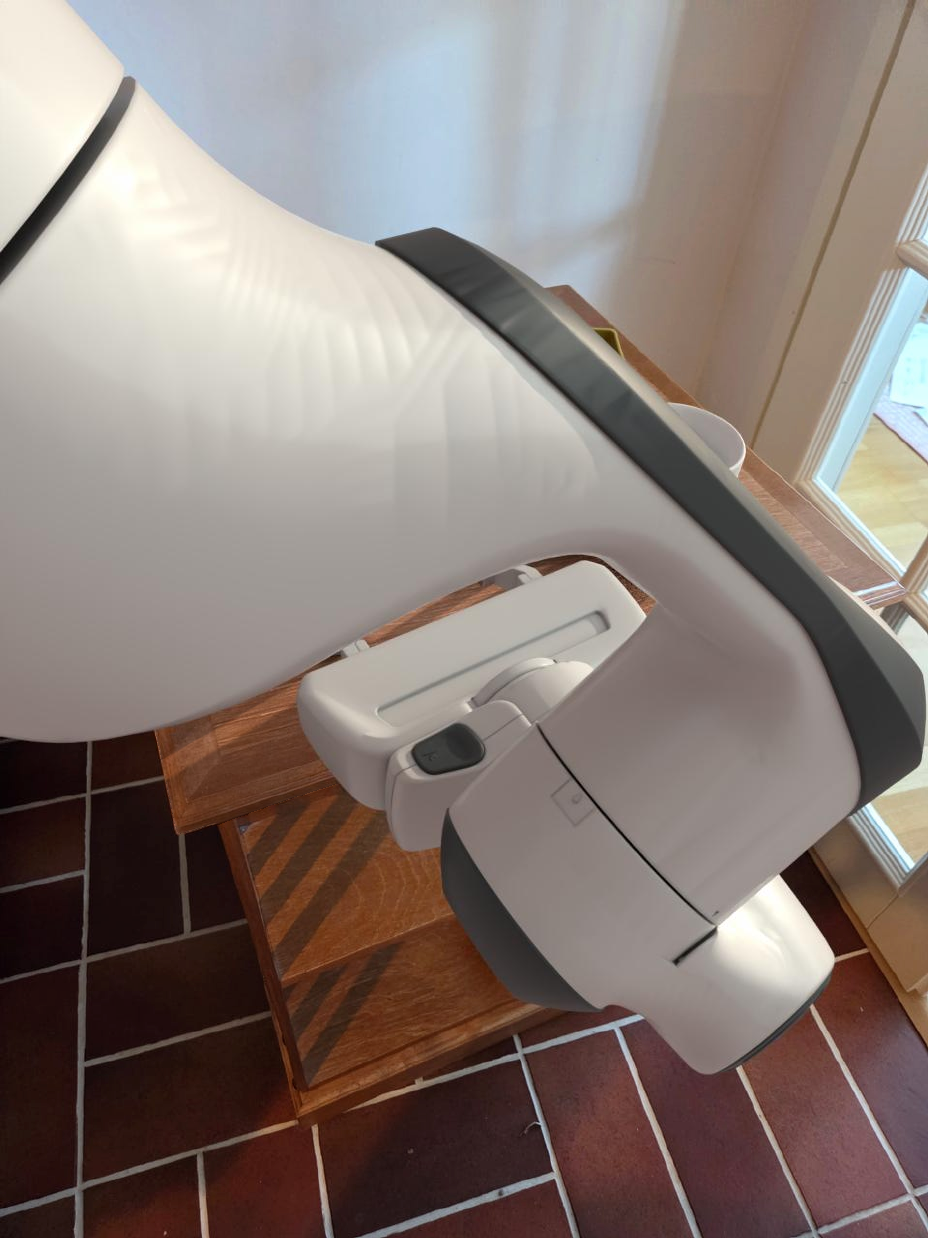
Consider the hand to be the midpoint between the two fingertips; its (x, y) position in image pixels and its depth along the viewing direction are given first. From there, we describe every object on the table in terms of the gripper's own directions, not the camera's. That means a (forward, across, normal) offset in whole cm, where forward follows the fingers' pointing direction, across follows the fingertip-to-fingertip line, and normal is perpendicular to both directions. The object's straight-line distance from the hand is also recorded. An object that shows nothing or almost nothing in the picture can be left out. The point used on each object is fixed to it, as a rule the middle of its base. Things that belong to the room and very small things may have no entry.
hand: (412, 581), depth 50 cm
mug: (+8, -31, +17) cm, 36 cm away
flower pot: (+30, -38, +17) cm, 51 cm away
